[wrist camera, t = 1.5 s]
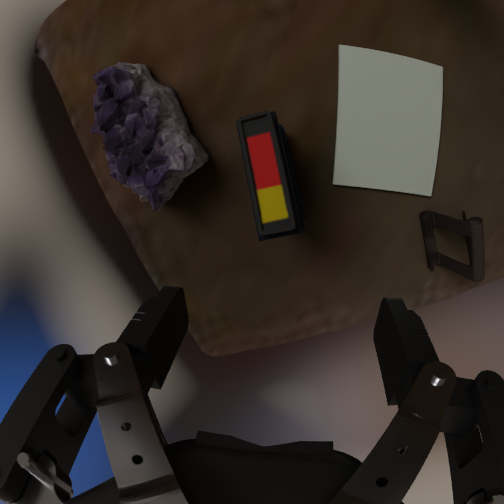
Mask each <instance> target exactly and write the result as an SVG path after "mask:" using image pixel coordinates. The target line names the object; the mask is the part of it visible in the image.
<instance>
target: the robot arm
mask: <svg viewBox="0 0 504 504" xmlns="http://www.w3.org/2000/svg"><path fill="white" fill-rule="evenodd" d="M188 323H189V318H188V312H187V307H186V301H185V295H184V291H183V288H181V287H170V286H164V287H163V288H162V289H161V291H160V292H159V294H158V295H157V296H156V297H151V298H150V299H148V300H147V301H145V302H144V303H143V304H142V305H141V306H140V308H139V309H138V311H137V313H135V315H134V316H133V318H132V320H131V321H130V322H129V324H128V325H127V327H126V328H125V329H124V331H123V332H122V334H121V335H120V337H119V338H118V340H117V341H116V342H111V343H108V344H105V345H103V346H101V347H100V348H99V349H98V350H97V351H96V352H95V354H89V355H88V354H87V355H77V353H76V352H75V350H74V348H73V347H72V346H71V345H68V344H60V345H57V346H54V347H53V348H52V349H50V350H49V351H48V352H47V353H46V355H45V356H44V358H43V359H42V360H41V362H40V363H39V365H38V366H37V367H36V369H35V370H34V372H33V373H32V375H31V377H30V378H29V379H28V381H27V382H26V384H25V385H24V387H23V388H22V390H21V391H20V393H19V394H18V396H17V397H16V399H15V401H14V402H13V404H12V405H11V407H10V409H9V410H8V412H7V414H6V415H5V417H4V419H3V421H2V422H1V424H0V499H1V500H2V501H3V502H5V503H7V504H404V503H403V502H402V499H403V498H404V496H405V495H406V493H407V492H408V490H409V488H410V487H411V485H412V483H413V482H414V480H415V478H416V477H417V475H418V473H419V471H420V470H421V468H422V466H423V464H424V462H425V460H426V459H427V457H428V455H429V453H430V451H431V449H432V447H433V445H434V443H435V441H436V439H437V437H438V434H439V432H444V436H445V441H446V447H447V453H448V458H449V465H450V473H451V480H452V490H453V500H454V504H504V380H503V379H502V378H501V376H500V375H499V374H497V373H496V372H493V371H489V370H485V371H482V372H480V373H479V374H478V375H477V377H476V378H475V380H472V379H465V378H459V377H456V375H455V372H454V371H453V369H452V368H451V367H450V366H448V365H447V364H445V363H442V362H440V361H439V359H438V357H437V354H436V352H435V349H434V347H433V345H432V342H431V340H430V338H429V336H428V333H427V331H426V329H425V326H424V324H423V322H422V320H421V318H420V317H419V316H418V315H417V314H416V313H415V312H414V311H413V310H407V308H406V306H405V304H404V301H403V299H402V298H383V299H382V302H381V305H380V309H379V313H378V317H377V320H376V324H375V328H374V344H375V348H376V352H377V357H378V361H379V365H380V370H381V374H382V379H383V383H384V388H385V393H386V398H387V403H388V406H389V405H398V409H399V410H398V412H397V413H396V415H395V417H394V418H393V420H392V421H391V423H390V425H389V426H388V428H387V429H386V430H385V432H384V434H383V435H382V436H381V438H380V440H379V441H378V442H377V444H376V445H375V447H374V448H373V449H372V451H371V452H370V453H369V455H368V456H367V458H366V459H365V460H364V461H363V463H362V462H360V461H359V460H358V459H356V458H354V457H352V456H350V455H348V454H346V453H343V452H340V451H336V450H333V441H328V442H324V441H323V442H321V441H318V442H317V441H298V442H292V443H287V444H280V445H274V446H266V447H265V446H259V445H256V444H253V443H250V442H247V441H244V440H241V439H238V438H235V437H233V436H230V435H223V434H215V433H210V432H204V431H198V432H197V436H196V439H188V440H182V441H178V442H175V443H172V444H168V442H167V440H166V438H165V436H164V433H163V431H162V429H161V426H160V424H159V422H158V419H157V417H156V414H155V412H154V409H153V407H152V404H151V401H150V399H149V396H148V392H149V390H150V388H155V389H161V387H162V385H163V383H164V381H165V379H166V376H167V374H168V372H169V370H170V368H171V365H172V363H173V361H174V359H175V356H176V354H177V352H178V350H179V347H180V345H181V343H182V341H183V339H184V337H185V334H186V332H187V329H188ZM64 394H65V395H66V398H65V400H64V401H63V403H62V405H61V407H60V409H59V411H58V413H57V414H56V416H55V411H56V407H57V405H58V404H59V402H60V400H61V398H62V397H63V395H64ZM97 411H98V416H99V421H100V425H101V429H102V434H103V438H104V441H105V445H106V449H107V453H108V456H109V460H110V463H111V466H112V469H113V473H114V477H112V478H110V479H109V480H107V481H105V482H103V483H102V484H99V485H97V486H95V487H94V488H92V489H90V490H88V491H86V492H84V493H82V494H80V495H78V496H75V497H73V498H71V497H72V496H73V490H72V482H71V479H70V477H69V473H70V471H71V468H72V466H73V463H74V461H75V459H76V456H77V454H78V452H79V450H80V447H81V445H82V443H83V441H84V438H85V436H86V434H87V432H88V430H89V427H90V425H91V423H92V420H93V419H94V417H95V414H96V412H97ZM478 426H479V427H478ZM479 429H480V431H479ZM480 432H481V435H480ZM481 436H482V439H481ZM482 441H483V443H482Z"/></svg>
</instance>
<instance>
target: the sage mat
mask: <svg viewBox="0 0 504 504" xmlns="http://www.w3.org/2000/svg"><path fill="white" fill-rule="evenodd" d="M442 95H443V67H441V66H438V65H435V64H431V63H428V62H424V61H421V60H417V59H413V58H409V57H405V56H401V55H396V54H392V53H387V52H382V51H377V50H371V49H366V48H359V47H353V46H346V45H339V80H338V111H337V131H336V147H335V161H334V173H333V184H335V185H346V186H355V187H365V188H373V189H382V190H390V191H398V192H405V193H412V194H419V195H425V196H431V194H432V189H433V183H434V177H435V170H436V163H437V156H438V147H439V138H440V127H441V114H442Z"/></svg>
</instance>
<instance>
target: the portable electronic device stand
mask: <svg viewBox="0 0 504 504" xmlns="http://www.w3.org/2000/svg"><path fill="white" fill-rule="evenodd" d="M419 215H420V220H421V226H422V231H423V237H424V243H425V249H426V256H427V263H428V268H429V269H430V270H431V271H433V270H434V266H435V265H436V264H438V265H441V266H444V267H446V268H448V269H450V270H452V271H454V272H456V273H458V274H460V275H462V276H464V277H466V278H468V279H470V280H472V281H474V282H480V281H482V280H483V279H484V235H483V220H482V218H480V217H471V218H469V219H468V220H467V219H466V216H465V211H463V218H464V221H463V220H459V219H456V218H453V217H449V216H446V215H443V214H439V213H436V212H432V211H423V212H421V213H420V214H419ZM433 225H434V226H435V225H436V226H439V227H442V228H445V229H448V230H451V231H453V232H456V233H459V234H462V235H465V238H466V243H467V249H468V254H469V260H470V265H465V264H463V263H460V262H458V261H456V260H454V259H452V258H449V257H447V256H445V255H443V254H440V253H438V252H437V251H436V245H435V238H434V231H433Z"/></svg>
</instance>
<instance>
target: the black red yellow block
mask: <svg viewBox="0 0 504 504" xmlns="http://www.w3.org/2000/svg"><path fill="white" fill-rule="evenodd" d="M236 124H237V129H238V134H239V139H240V144H241V149H242V154H243V160H244V165H245V170H246V175H247V180H248V185H249V191H250V196H251V201H252V206H253V212H254V217H255V222H256V227H257V233H258V238H259V241H263V240H268V239H273V238H278V237H283V236H289V235H294V234H299V233H302V231H304V230H305V226H304V221H303V220H305V212H304V208H303V203H302V199H301V195H300V190H299V186H298V182H297V178H296V174H295V170H294V165H293V161H292V157H291V153H290V150H289V146H288V142H287V138H286V134H285V130H284V127H282V126H281V124H280V125H279V124H278V119H277V115H276V113H275V111H274V112H269V111H263V112H259V113H255V114H251V115H248V116H244V117H240V118H239V119H237V121H236Z"/></svg>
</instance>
